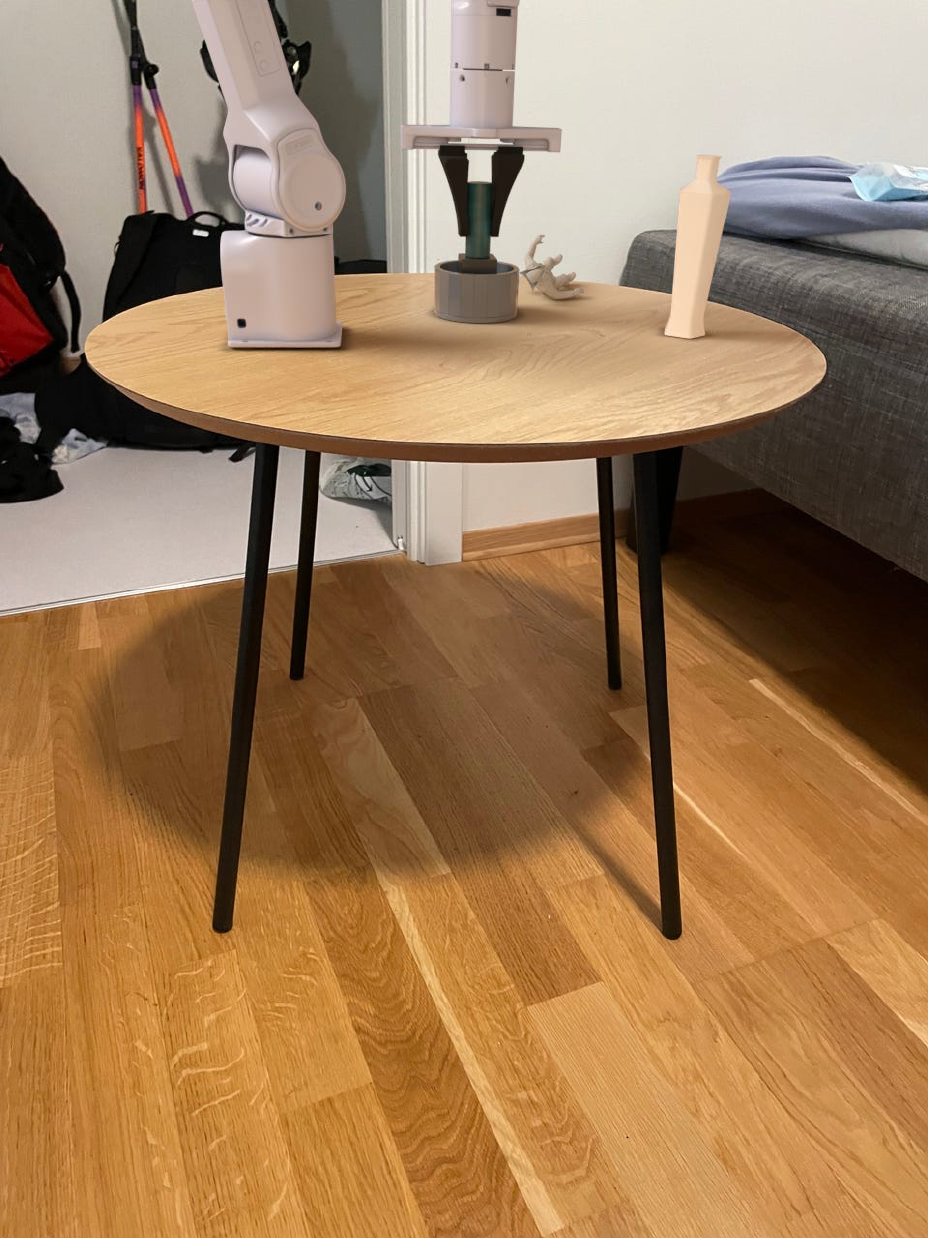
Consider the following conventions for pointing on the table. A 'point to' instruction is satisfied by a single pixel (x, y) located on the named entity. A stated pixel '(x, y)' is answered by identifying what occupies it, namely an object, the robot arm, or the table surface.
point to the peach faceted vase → (696, 247)
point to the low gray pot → (475, 293)
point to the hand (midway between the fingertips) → (477, 235)
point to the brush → (478, 231)
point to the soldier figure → (547, 274)
